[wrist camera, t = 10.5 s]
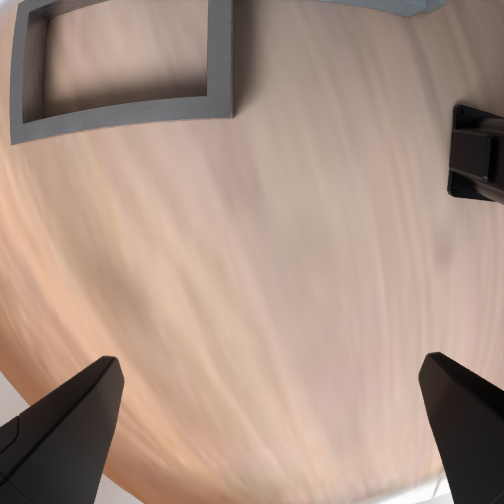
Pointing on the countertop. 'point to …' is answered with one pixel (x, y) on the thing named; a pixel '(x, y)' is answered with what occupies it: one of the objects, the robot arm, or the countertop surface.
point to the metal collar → (153, 111)
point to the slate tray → (397, 5)
